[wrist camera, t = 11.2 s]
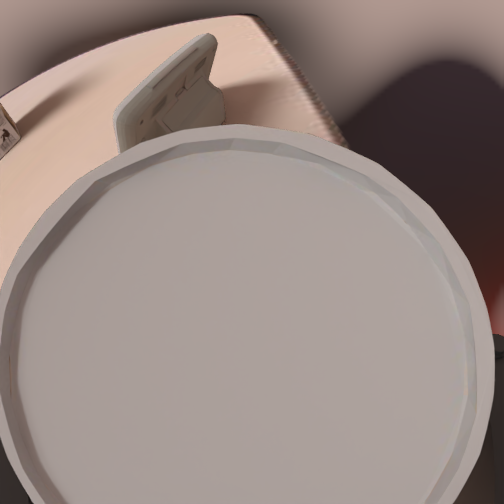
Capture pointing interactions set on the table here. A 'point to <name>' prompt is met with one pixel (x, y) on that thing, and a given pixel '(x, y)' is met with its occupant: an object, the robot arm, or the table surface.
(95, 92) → the table surface
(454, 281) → the disposable coffee cup
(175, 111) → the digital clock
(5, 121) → the printed cardboard box
